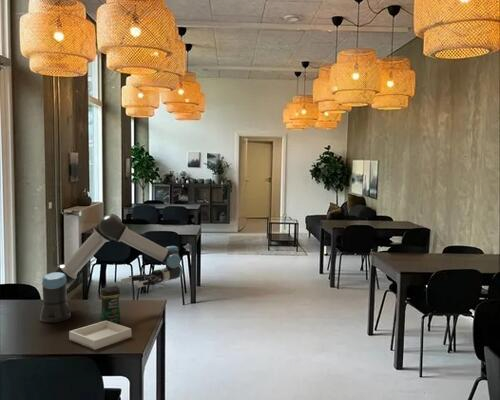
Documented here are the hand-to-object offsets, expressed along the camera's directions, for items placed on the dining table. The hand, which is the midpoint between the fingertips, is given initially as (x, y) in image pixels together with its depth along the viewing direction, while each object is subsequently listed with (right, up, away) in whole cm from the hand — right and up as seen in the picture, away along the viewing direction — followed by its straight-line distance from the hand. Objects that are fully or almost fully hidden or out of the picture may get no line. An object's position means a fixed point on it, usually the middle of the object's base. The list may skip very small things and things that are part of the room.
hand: (129, 283), depth 251 cm
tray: (-5, -20, -31) cm, 38 cm away
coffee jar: (-8, -19, -8) cm, 22 cm away
